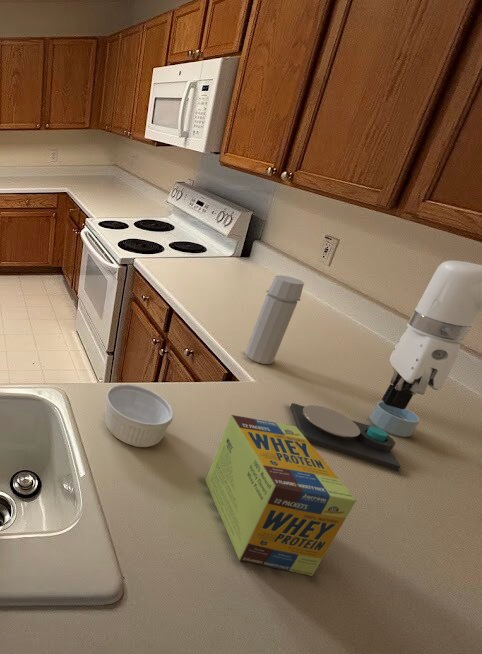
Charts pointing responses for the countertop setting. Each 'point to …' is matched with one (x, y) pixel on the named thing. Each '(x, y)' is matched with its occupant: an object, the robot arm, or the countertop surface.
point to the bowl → (394, 419)
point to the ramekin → (137, 415)
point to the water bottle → (274, 319)
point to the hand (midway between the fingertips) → (392, 404)
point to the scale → (348, 441)
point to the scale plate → (331, 421)
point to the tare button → (377, 433)
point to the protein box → (276, 495)
